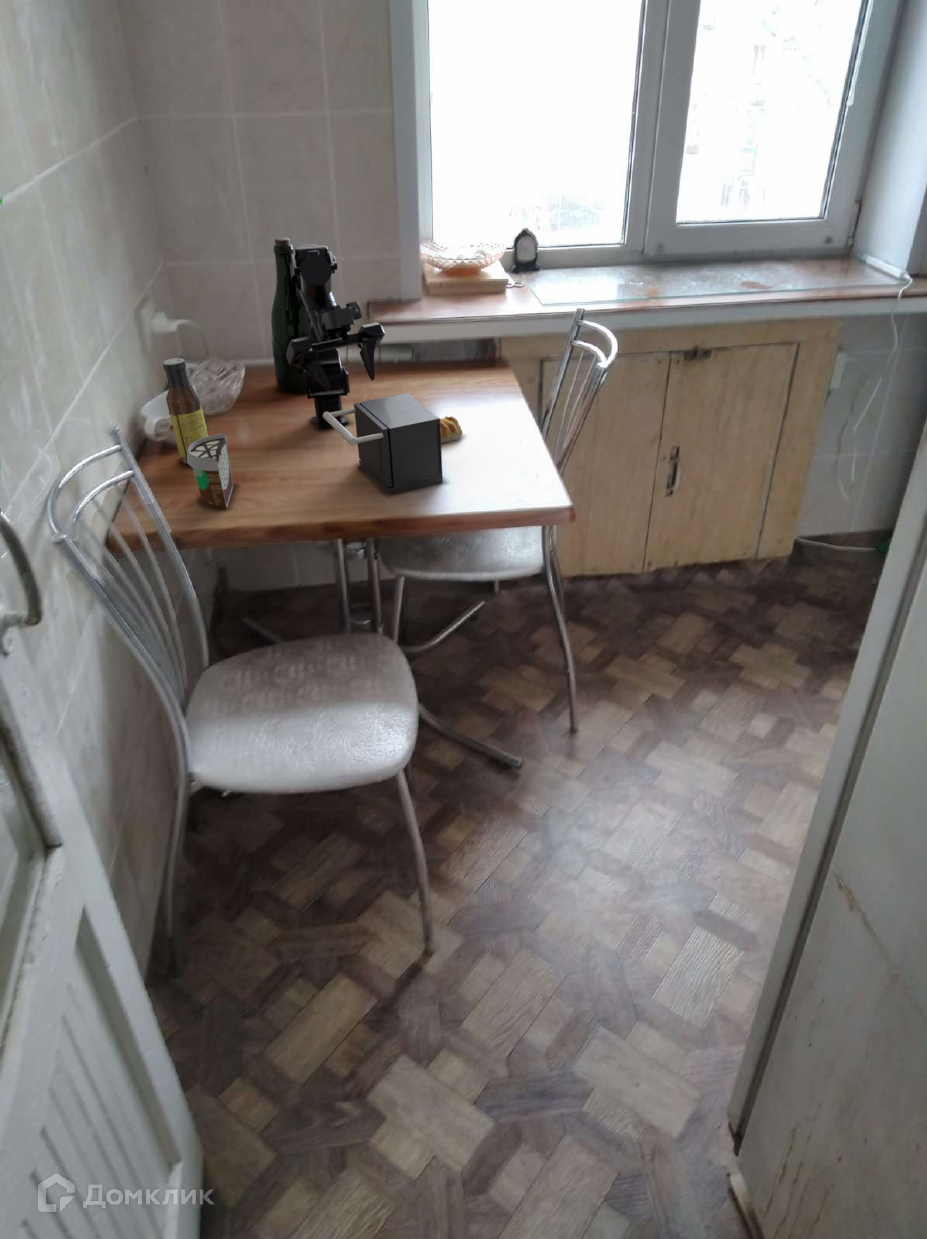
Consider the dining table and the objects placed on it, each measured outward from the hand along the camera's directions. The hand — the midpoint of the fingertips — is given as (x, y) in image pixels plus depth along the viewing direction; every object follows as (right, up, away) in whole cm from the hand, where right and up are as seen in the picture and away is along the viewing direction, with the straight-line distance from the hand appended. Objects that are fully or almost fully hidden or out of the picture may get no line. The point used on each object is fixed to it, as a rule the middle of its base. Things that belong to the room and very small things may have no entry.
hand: (351, 384), depth 172 cm
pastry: (+17, -8, +14) cm, 23 cm away
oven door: (+2, -18, -4) cm, 18 cm away
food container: (-24, -23, -7) cm, 34 cm away
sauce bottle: (-32, -13, +8) cm, 35 cm away
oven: (+9, -17, -1) cm, 19 cm away
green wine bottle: (-17, +10, +42) cm, 46 cm away
